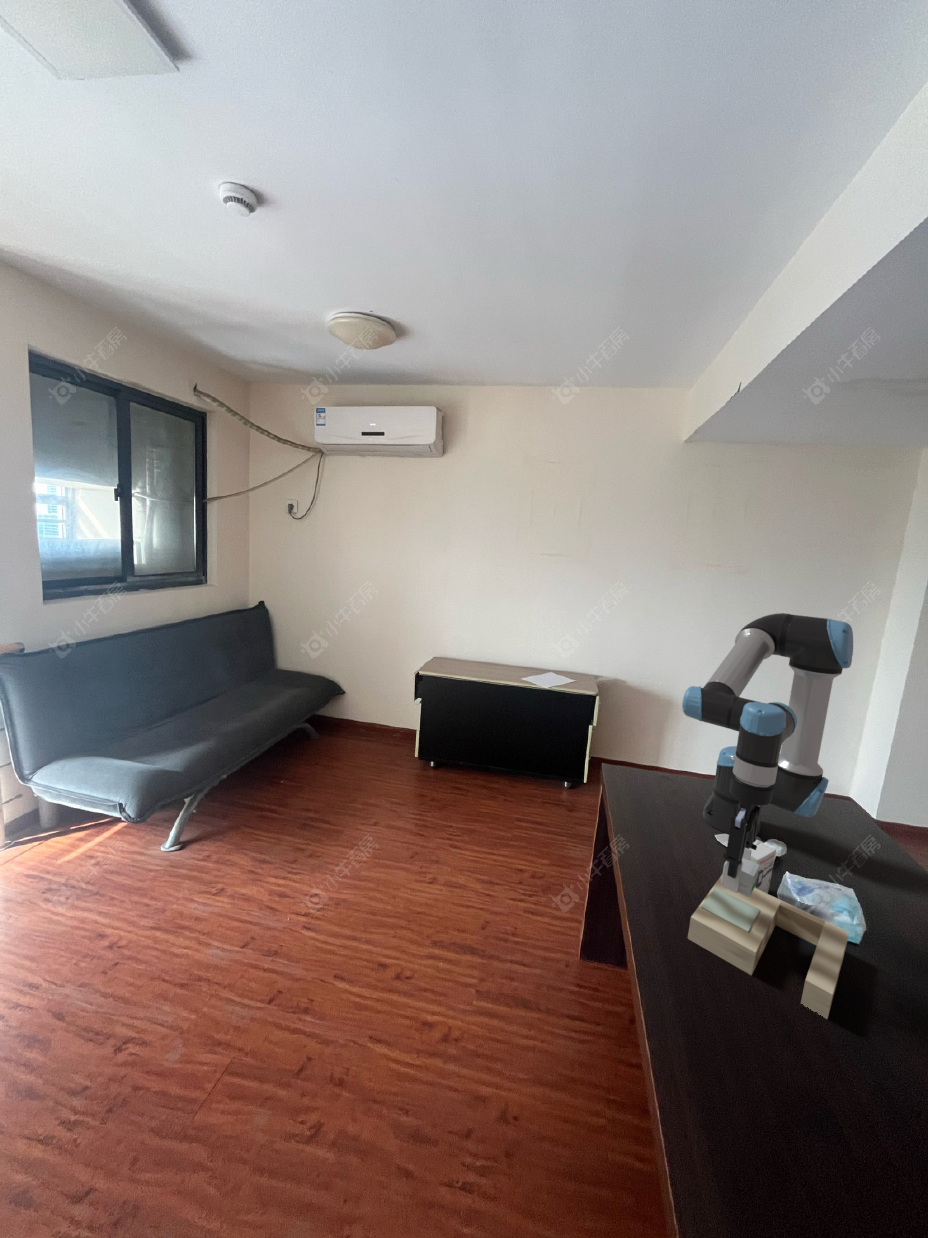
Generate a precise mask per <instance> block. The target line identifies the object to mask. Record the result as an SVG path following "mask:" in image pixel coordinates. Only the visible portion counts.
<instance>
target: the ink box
mask: <svg viewBox="0 0 928 1238" xmlns="http://www.w3.org/2000/svg"><path fill="white" fill-rule="evenodd" d="M753 844H754V845H757V848H756V850H753V849H751V848H750V850H752V852H751V858H750V861H752V862H754V863H757V864H759V865H760V867H759V872H758V877H757V883H756V886H755V888H756V889H758V890H761V891H763V892H765V893H767V894H768V893H769V890H770V889H769V888H770V885H771V879H772V876H773V869H774V864H775V857H776V851H777V850H776V849H774V848H773V847H771V846H769V845H768V844H765V843H764V842H762V841H760V840H759V839H756V841H755V842H753Z"/></svg>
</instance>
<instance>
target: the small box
mask: <svg viewBox="0 0 928 1238" xmlns="http://www.w3.org/2000/svg"><path fill="white" fill-rule="evenodd" d="M742 863H743V866H742V872H741V878H740V883H739V889H738V892H739V893H741V894H743V895H745V896H748V897H750V896H751V894H752V892H753V890H754V888H755V886H756V883H757V877H758V872H759V867H760V865H759V864H757V863H754V862H752V861H750V860H747V859H745V858H742ZM726 864H727V861H726V860H725V862H724V864H723V870H722V874H721V875H722V880H721V884H722V885H723V882H724V876H725V870H726Z"/></svg>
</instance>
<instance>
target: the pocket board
mask: <svg viewBox="0 0 928 1238" xmlns="http://www.w3.org/2000/svg"><path fill="white" fill-rule="evenodd" d="M721 880H722V874H721V875H720V877H719V878H718V879H717V881H716V882H715V883H714V885H713V886H712V888H711V889H710V890H709V892H708V893H707V894H706V896H705V897H704V899H703V900H702V901H701V903H700V904H699V905H698V907H697V908H696V909H695V910H694V912H693V913H692V914H691V916H690V919H689V920H690V921H689V928H688V934H687V939H688V940H689V941H691V942H693V943H695V944H696V945H698V946H699V947H701V948H703V949H705V950H707V951H709V952H710V953H712V954H713V955H715V956H716V957H719V958H721V959H722V960H724V961H726V962H727V963H729V964H731V965H732V966H735V967H736V968H738V969H739V970H741V971H743V972H745V973H747V974H748V975H749V976H752V975H753V974H754V971H755V970H756V966H757V965H758V963H759V961H760V959H761V956H762V954H763V952H764V951H765V949H766V946H767V944H768V942H769V940H770V938H771V935H772V934H773V931H774V929H775V927H776V926H777V927H778V928H780V929H782V930H785V931H786V932H788V933H790V934H792V935H794V936H796V937H798V938H800V939H802V940H804V941H806V942H808V943H810V944H812V945H814V946H815V947H816V948H815V951H814V954H813V956H812V959H811V962H810V965H809V969H808V971H807V975H806V978H805V980H804V985H803V990H802V994H801V1000H800V1005H801V1004H803V1005H804V1006H803V1005H802V1006H803V1007H805V1008H807V1007H808V1008H809V1009H808V1008H807V1009H808V1010H810V1009H811V1010H810V1011H812V1012H814V1013H815V1012H817V1013H818V1014H817V1013H816V1014H817V1015H819V1016H820V1015H821V1017H822V1016H823V1017H822V1018H824V1019H826V1020H828V1018H829V1015H830V1010H831V1008H832V1007H831V1006H832V1005H833V1004H832V1003H833V1000H834V995H835V992H836V988H837V984H838V980H839V976H840V971H841V967H842V965H843V962H844V961H843V960H844V957H845V952H846V948H847V945H848V940H849V935H850V932H849V931H848V930H845V929H843V928H841V927H839V926H837V925H835V924H833V923H831V922H829V921H827V920H824V919H822V918H820V917H818V916H816V915H813V914H812V913H809V912H807V911H805V910H803V909H801V908H799V907H796V906H795V905H793V904H790V903H788V902H786V901H784V900H783V899H782V900H781V899H780V898H777V897H775V896H773V895H770V894H767V893H765V892H763V891H761V890H758V889H756V888H754V890H753V892H752V894H751V896H750V897H748V896H745V895H743V894H741V893H739V892H738V893H735V892H733V891H731V890H729V889H727V888H725V887H723V885H722V884H721Z"/></svg>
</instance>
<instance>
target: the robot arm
mask: <svg viewBox="0 0 928 1238" xmlns="http://www.w3.org/2000/svg"><path fill="white" fill-rule="evenodd" d="M853 655H854V633H853V628H852V626H851V624H850V623H848V622H847V621H842V620H836V619H832V618H827V617H818V616H817V617H815V616H806V615H798V614H791V613H784V612H783V613H772V614H768V615H764V616H761V617H759V618H756V619H754V620H752V621H751V622H749V623H748V624H746V625H745V626H744V627H742V628H741V630H739V632H738V633H737V635H736V636H735V640H734V645H733V647H732V648H731V649H730V651H729V652H728V654H727V655H726V657H724V659H723V660H722V662H721V663H720V664H719V666H718V667H717V668H716V670H715V671H714V672H713V674H712V675H711V676H710V678H709V679H708V681H707V682H706V683H705V685H704V686H703V687H701V686H694V685H693V686H689V687H688V688H687V689H686V690H685V692H684V694H683V698H682V704H681V707H682V713H683V714H684V715H685V716H686V717H688V718H692V719H693V720H697V721H699V722H704V723H706V724H711V725H714V726H718V727H722V728H725V729H729V730H733V731H735V732H738V736H737V744H736V745H734V746H733V745H732V746H726V747H724V748H722V749H721V750H720V751H719V754H718V758H717V761H716V769H715V770H716V771H715V775H714V784H713V788H712V789H713V790H712V793H711V795H710V796H709V798H708V800H707V801H706V803H705V805H704V807H703V811H702V818H703V820H704V821H705V822H706V823H707V824H708V825H709V826H711V827H713V828H714V829H715V830H718V831H720V832H723V833H725V834H728V833H729V834H728V839H727V845H726V850H725V851H726V852H725V853H724V854H723V855H722V856H723V859H724V861H725V862H726V861H727V864H726V870H725V876H724V882H723V887H725V888H727V889H729V890H731V891H733V892H735V893H738V889H739V883H740V878H741V872H742V866H743V863H742V858H745V859H747V860H750V858H751V852H752V850H750V848H751V849H753V850H756V848H757V845H754V844H753V842H755V841H756V840H757V836H758V835H759V833H760V829H761V820H760V814H761V811H762V806H768V805H771V806H773V807H777V808H780V809H782V810H785V811H786V812H790V813H792V814H796V815H800V816H802V817H805V818H813V817H814V816H815V815H816V813H817V812H818V809H819V807H820V805H821V803H822V800H823V798H824V795H825V793H826V791H827V788H828V784H829V779H828V778H826V777H825V776H824V775H823V774H824V769H823V767H821V765H820V764H819V757H820V752H821V746H822V741H823V737H824V736H823V735H824V731H825V725H826V721H827V720H826V719H827V714H828V709H829V704H830V698H831V693H832V688H833V681H834V679H835V678H837V677H838V676H840V675H842V674H843V669H849V668H850V667H851V665H852V661H853ZM772 656H781V657H785V658H789V663H788V666H789V667H790V669H791V670H792V671H793V677H792V684H791V689H790V695H789V700H788V701H789V702H788V705H787V704H786V703H783V702H779V701H773V702H772V701H771V702H767V703H766V702H761V701H756V700H753V699H749V698H744V697H740V696H741V695H742V693H743V691H744V690H745V689H746V687H747V685H748V684H749V682H750V681H751V679H752V678H753V676H755V673H756V672H757V670H758V669H759V668H760V666H761V664H762V663H763V662H764V660H767V659H768V658H770V657H772Z"/></svg>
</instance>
